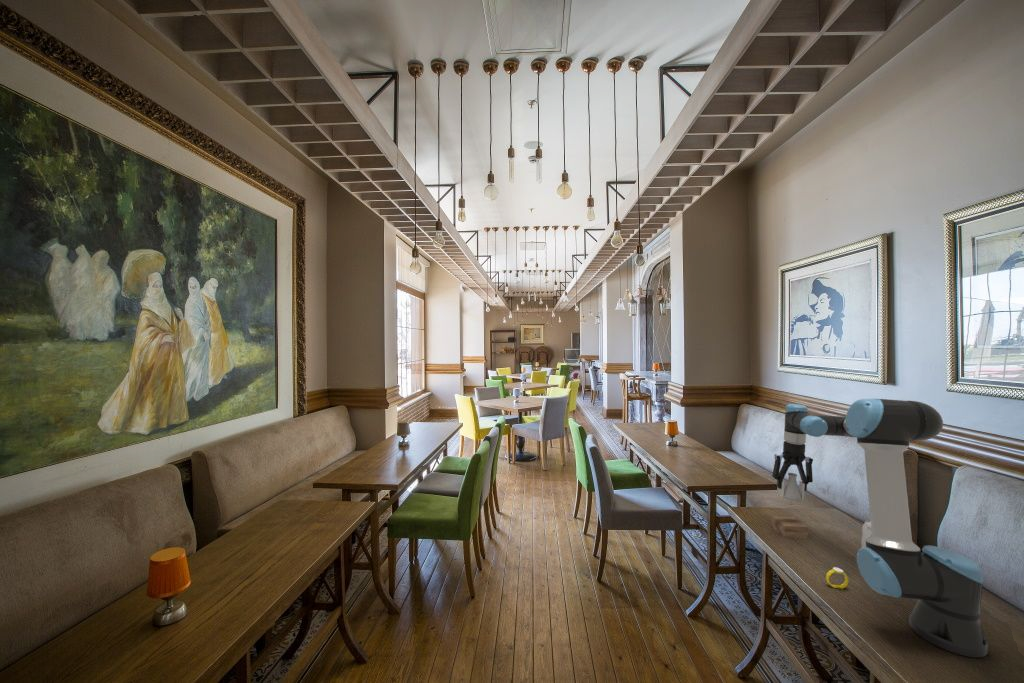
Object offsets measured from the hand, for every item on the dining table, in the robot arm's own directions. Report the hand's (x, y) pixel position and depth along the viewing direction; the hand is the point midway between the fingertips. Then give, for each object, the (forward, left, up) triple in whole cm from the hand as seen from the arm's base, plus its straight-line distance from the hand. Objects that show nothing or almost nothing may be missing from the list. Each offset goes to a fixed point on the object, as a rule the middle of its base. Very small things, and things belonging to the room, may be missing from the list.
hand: (791, 497), depth 176 cm
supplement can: (-21, -19, -15) cm, 32 cm away
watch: (-38, +2, -15) cm, 41 cm away
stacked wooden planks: (0, 0, -15) cm, 15 cm away
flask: (0, 0, -1) cm, 1 cm away
